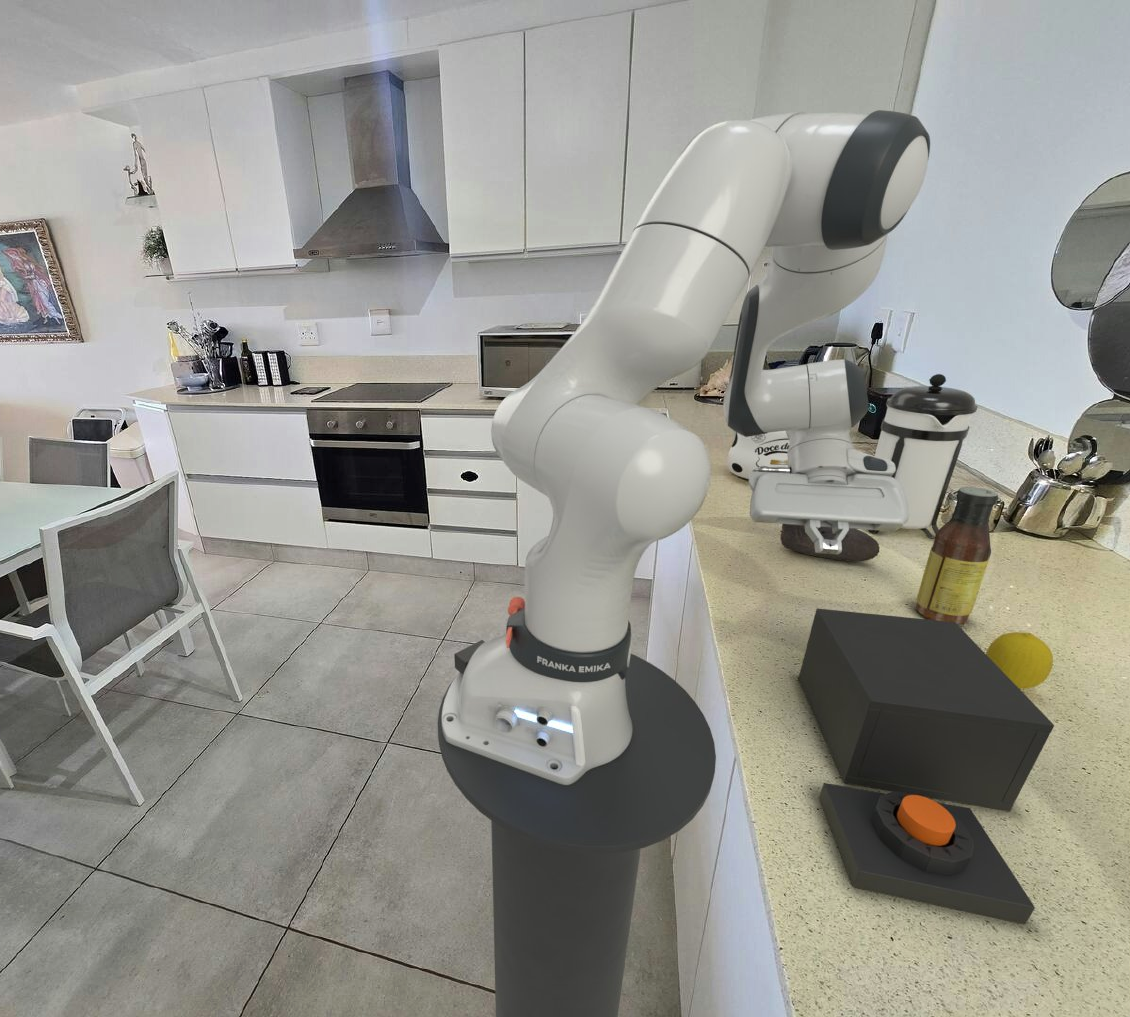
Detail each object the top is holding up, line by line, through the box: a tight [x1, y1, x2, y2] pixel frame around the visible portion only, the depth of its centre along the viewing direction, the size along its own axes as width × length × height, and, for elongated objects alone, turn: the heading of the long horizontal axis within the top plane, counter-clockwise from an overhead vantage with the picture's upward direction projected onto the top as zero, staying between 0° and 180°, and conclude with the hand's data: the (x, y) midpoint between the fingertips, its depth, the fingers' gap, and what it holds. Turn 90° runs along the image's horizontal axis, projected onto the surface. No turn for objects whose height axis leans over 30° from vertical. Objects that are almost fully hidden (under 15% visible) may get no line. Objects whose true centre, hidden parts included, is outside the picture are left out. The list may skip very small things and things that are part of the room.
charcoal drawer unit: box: [797, 607, 1055, 812], centre depth 59 cm, size 16×14×11 cm
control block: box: [818, 782, 1036, 925], centre depth 48 cm, size 12×9×4 cm
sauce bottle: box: [915, 486, 999, 626], centre depth 78 cm, size 7×6×20 cm
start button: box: [897, 795, 956, 846], centre depth 47 cm, size 4×4×2 cm
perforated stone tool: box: [779, 524, 880, 562], centre depth 98 cm, size 15×5×7 cm, turn 54°
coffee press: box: [867, 373, 979, 540], centre depth 105 cm, size 17×16×30 cm
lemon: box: [985, 631, 1054, 690], centre depth 66 cm, size 6×6×8 cm
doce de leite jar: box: [727, 431, 789, 482], centre depth 133 cm, size 17×17×18 cm
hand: (828, 552), depth 80 cm, fingers closed
